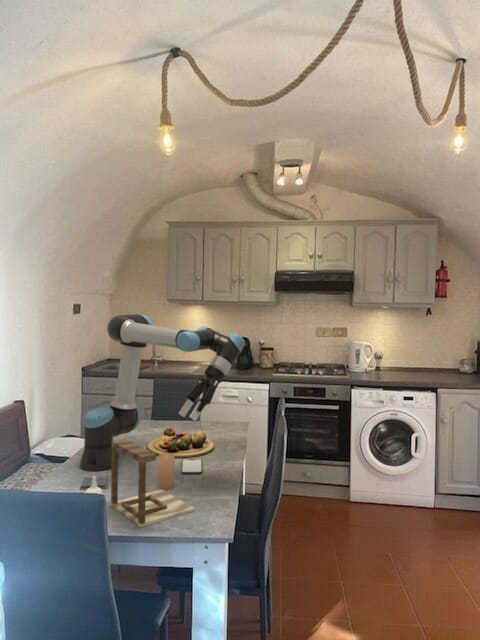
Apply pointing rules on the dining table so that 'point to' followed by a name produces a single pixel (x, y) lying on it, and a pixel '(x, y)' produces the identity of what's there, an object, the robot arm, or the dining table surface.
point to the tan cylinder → (166, 471)
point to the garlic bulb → (94, 487)
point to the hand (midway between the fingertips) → (186, 417)
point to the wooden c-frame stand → (143, 490)
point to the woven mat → (100, 481)
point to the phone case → (191, 467)
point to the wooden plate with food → (181, 444)
